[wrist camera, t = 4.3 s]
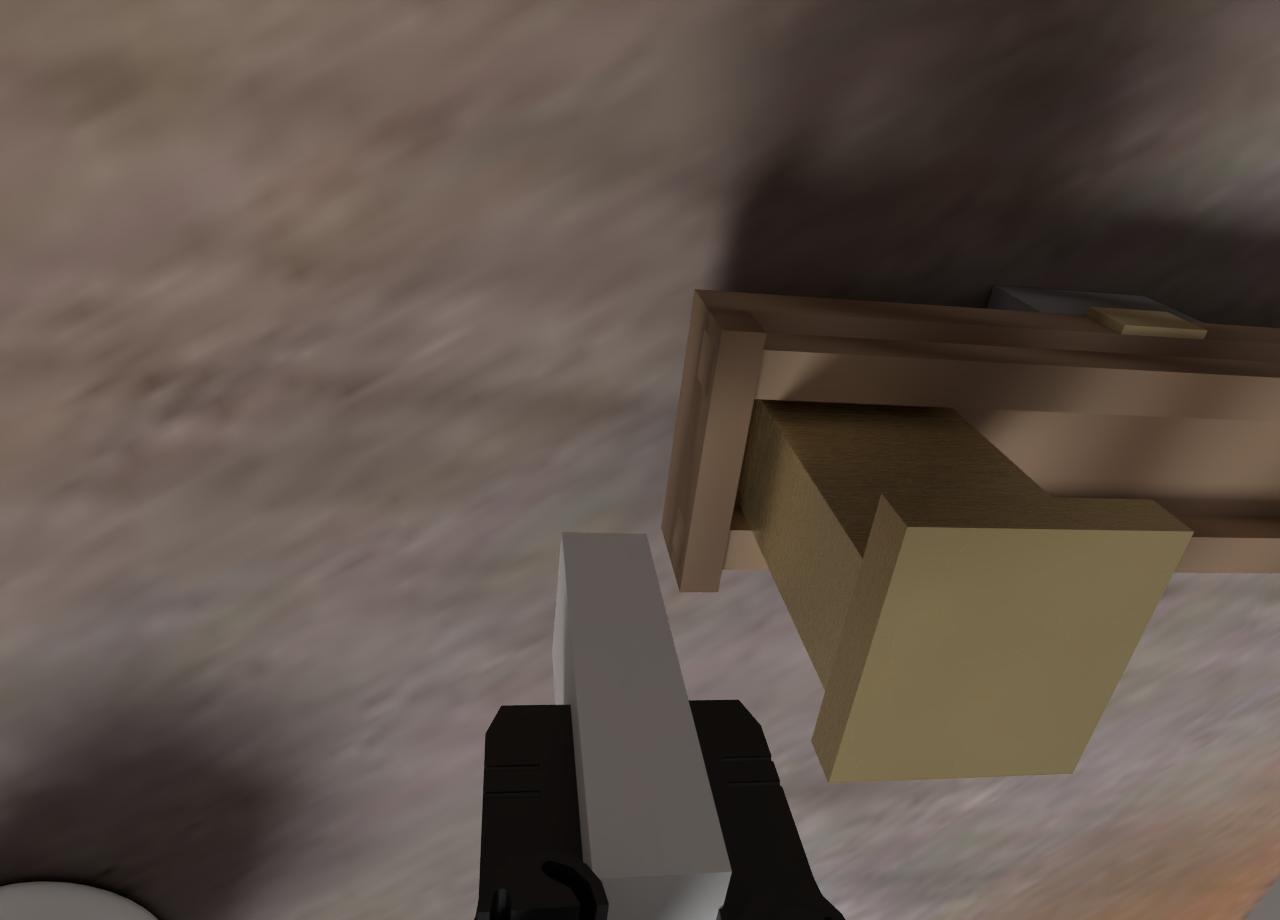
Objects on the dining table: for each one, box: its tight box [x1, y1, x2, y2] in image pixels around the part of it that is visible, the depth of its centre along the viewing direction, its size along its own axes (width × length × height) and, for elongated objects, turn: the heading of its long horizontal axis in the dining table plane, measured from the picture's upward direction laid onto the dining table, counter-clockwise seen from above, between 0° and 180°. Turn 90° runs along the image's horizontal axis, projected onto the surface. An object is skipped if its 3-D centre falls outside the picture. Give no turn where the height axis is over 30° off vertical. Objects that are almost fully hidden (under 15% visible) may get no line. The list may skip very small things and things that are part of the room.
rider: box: [736, 399, 1194, 783], centre depth 18 cm, size 5×6×8 cm
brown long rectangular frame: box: [661, 285, 1280, 592], centre depth 24 cm, size 24×8×6 cm, turn 84°
